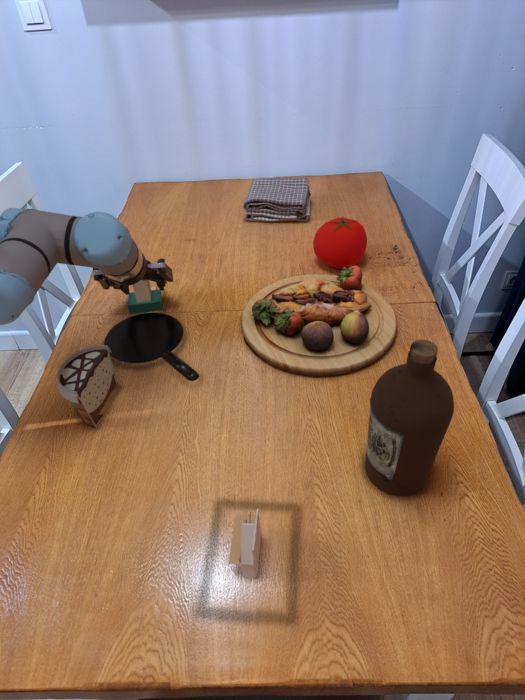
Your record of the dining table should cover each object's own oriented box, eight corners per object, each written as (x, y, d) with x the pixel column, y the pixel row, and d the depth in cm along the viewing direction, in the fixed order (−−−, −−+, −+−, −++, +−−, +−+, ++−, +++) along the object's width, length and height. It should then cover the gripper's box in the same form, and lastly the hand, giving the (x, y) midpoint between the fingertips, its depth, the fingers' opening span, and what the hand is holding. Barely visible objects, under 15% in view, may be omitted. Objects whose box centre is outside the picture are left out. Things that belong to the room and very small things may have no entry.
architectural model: (230, 577, 64) (225, 550, 59) (237, 527, 69) (233, 498, 64) (256, 579, 64) (253, 551, 59) (261, 529, 69) (259, 500, 64)
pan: (91, 342, 101) (88, 333, 100) (156, 308, 109) (154, 300, 107) (161, 408, 87) (159, 399, 85) (230, 364, 94) (229, 354, 93)
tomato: (374, 258, 121) (379, 217, 113) (345, 282, 113) (349, 240, 106) (333, 244, 127) (336, 204, 119) (303, 266, 119) (304, 225, 112)
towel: (251, 200, 148) (250, 174, 143) (312, 201, 146) (312, 175, 141) (243, 223, 137) (241, 197, 132) (308, 225, 135) (309, 198, 130)
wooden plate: (325, 266, 119) (326, 236, 113) (429, 331, 99) (437, 298, 93) (212, 317, 106) (208, 285, 100) (307, 404, 86) (308, 370, 80)
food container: (92, 379, 93) (76, 339, 86) (122, 383, 92) (108, 343, 85) (59, 430, 84) (39, 389, 77) (92, 435, 83) (74, 394, 76)
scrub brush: (162, 313, 106) (153, 268, 99) (130, 316, 106) (118, 272, 99) (162, 300, 110) (154, 257, 103) (131, 304, 110) (120, 260, 103)
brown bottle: (402, 433, 80) (431, 311, 64) (446, 483, 73) (491, 360, 56) (347, 457, 77) (361, 335, 60) (387, 512, 70) (416, 390, 53)
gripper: (66, 288, 85) (101, 308, 108) (181, 275, 86) (191, 297, 109) (62, 246, 85) (97, 275, 108) (176, 234, 87) (187, 265, 110)
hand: (144, 286), depth 109 cm, fingers closed on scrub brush, 7 cm apart
